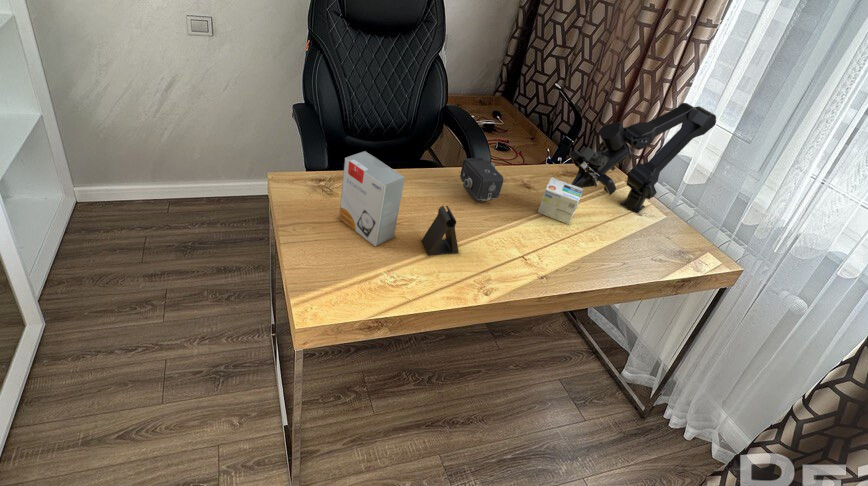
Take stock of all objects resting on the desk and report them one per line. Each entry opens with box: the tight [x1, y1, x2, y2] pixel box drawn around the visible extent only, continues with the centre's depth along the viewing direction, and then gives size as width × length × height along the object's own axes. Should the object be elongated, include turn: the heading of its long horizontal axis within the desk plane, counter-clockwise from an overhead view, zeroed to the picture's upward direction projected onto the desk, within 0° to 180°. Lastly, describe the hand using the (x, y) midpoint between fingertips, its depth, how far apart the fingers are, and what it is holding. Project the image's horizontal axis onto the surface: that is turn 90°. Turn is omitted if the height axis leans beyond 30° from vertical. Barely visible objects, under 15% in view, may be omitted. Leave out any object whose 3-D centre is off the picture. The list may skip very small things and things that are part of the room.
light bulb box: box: [537, 176, 584, 225], centre depth 160 cm, size 11×7×11 cm, turn 65°
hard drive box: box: [338, 150, 406, 247], centre depth 136 cm, size 16×8×20 cm, turn 47°
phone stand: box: [421, 205, 459, 256], centre depth 137 cm, size 9×6×12 cm, turn 106°
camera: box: [459, 157, 505, 202], centre depth 163 cm, size 11×11×15 cm
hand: (570, 189), depth 160 cm, fingers closed
